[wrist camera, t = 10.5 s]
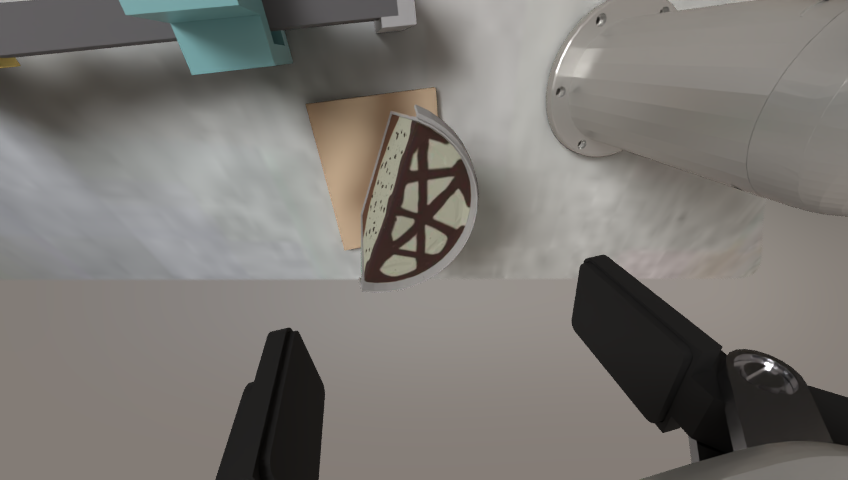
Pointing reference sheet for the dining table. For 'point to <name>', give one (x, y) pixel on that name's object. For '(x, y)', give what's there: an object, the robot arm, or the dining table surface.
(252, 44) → the sleeve
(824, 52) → the robot arm
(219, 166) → the dining table surface
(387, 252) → the food container
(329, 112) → the mat
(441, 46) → the dining table surface
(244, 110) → the dining table surface
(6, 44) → the rail
